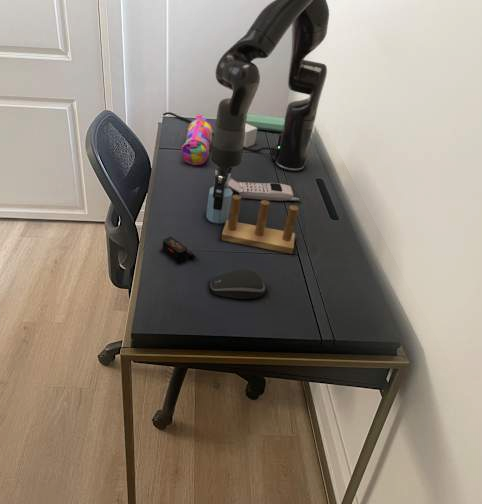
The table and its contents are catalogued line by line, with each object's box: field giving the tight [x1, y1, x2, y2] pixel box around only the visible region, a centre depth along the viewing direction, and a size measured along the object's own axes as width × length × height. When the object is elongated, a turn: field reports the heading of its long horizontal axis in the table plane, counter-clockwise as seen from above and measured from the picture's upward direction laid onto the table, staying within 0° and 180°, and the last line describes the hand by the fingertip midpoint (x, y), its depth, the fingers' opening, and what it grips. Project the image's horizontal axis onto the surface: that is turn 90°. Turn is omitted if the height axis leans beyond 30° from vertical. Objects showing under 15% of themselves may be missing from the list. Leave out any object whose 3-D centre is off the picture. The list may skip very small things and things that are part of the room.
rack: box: [220, 194, 299, 255], centre depth 123 cm, size 18×7×11 cm, turn 79°
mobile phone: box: [214, 169, 300, 202], centre depth 143 cm, size 6×6×25 cm
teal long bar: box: [246, 113, 285, 133], centre depth 185 cm, size 6×6×25 cm
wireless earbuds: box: [162, 236, 196, 263], centre depth 116 cm, size 5×7×3 cm, turn 44°
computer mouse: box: [209, 268, 266, 300], centre depth 108 cm, size 7×12×4 cm, turn 94°
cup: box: [205, 185, 234, 224], centre depth 130 cm, size 6×6×8 cm
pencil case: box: [180, 114, 214, 166], centre depth 161 cm, size 22×9×9 cm, turn 178°
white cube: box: [243, 124, 258, 148], centre depth 172 cm, size 6×6×6 cm
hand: (220, 201), depth 129 cm, fingers open, 8 cm apart
